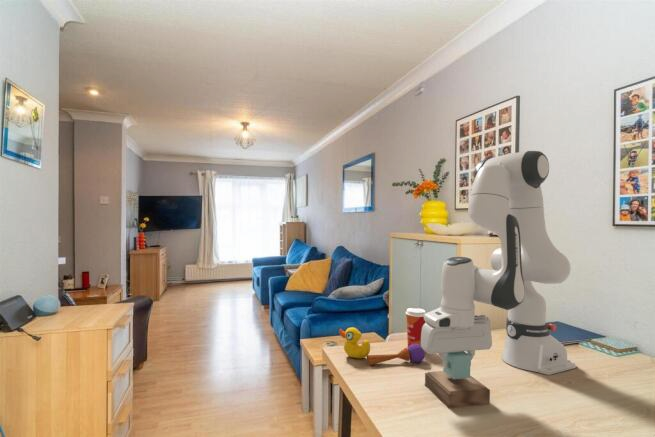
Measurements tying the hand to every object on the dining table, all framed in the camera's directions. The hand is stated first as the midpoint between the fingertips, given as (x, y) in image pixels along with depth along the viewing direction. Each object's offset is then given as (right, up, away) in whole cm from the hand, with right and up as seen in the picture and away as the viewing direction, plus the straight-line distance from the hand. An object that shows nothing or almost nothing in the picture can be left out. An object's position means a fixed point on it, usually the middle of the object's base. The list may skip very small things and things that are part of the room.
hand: (456, 366), depth 93 cm
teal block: (0, -2, 0) cm, 2 cm away
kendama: (-12, -8, +20) cm, 25 cm away
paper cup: (-3, -8, +33) cm, 34 cm away
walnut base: (0, -8, 0) cm, 8 cm away
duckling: (-26, -7, +24) cm, 36 cm away
